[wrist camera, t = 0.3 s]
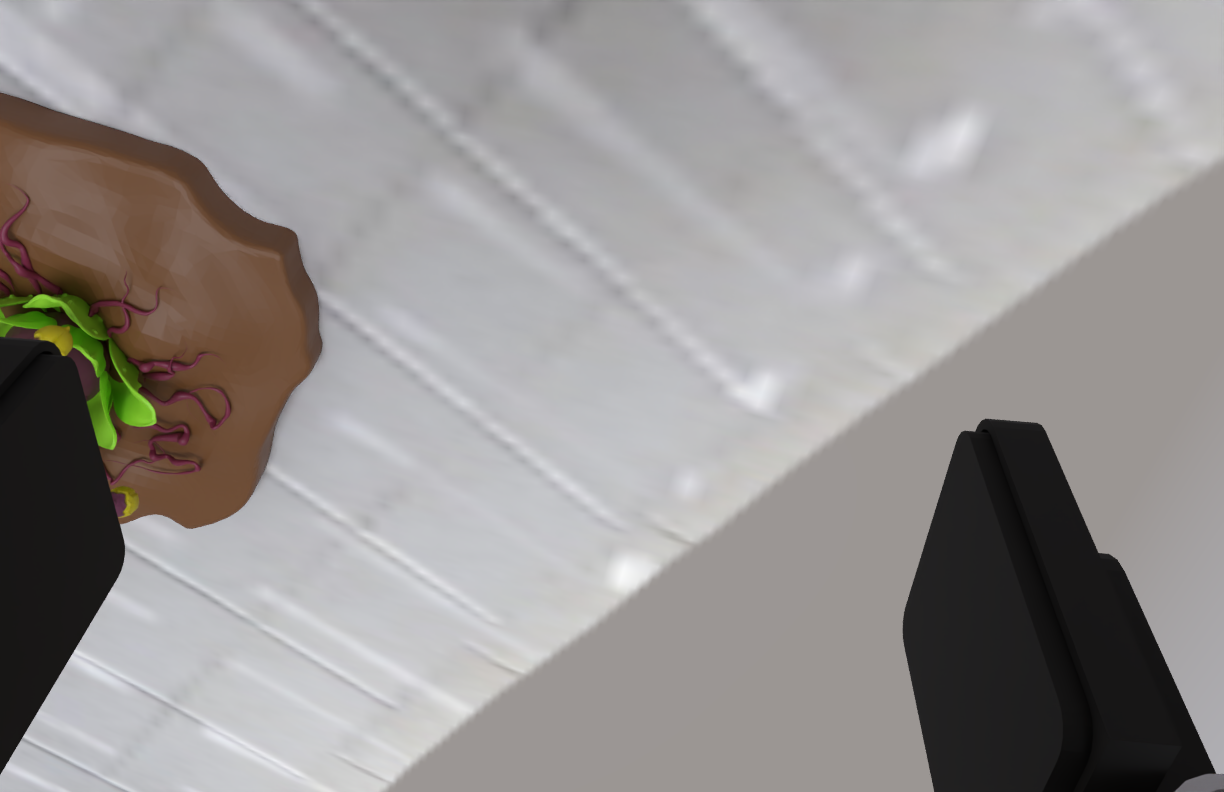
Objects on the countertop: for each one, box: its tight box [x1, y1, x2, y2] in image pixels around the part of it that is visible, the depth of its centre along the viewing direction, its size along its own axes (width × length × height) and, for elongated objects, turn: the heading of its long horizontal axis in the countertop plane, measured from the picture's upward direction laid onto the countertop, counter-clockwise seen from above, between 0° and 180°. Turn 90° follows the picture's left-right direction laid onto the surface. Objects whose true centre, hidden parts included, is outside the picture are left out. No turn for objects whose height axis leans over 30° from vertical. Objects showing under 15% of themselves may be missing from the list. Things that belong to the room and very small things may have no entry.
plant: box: [0, 93, 322, 529], centre depth 44 cm, size 20×20×11 cm
